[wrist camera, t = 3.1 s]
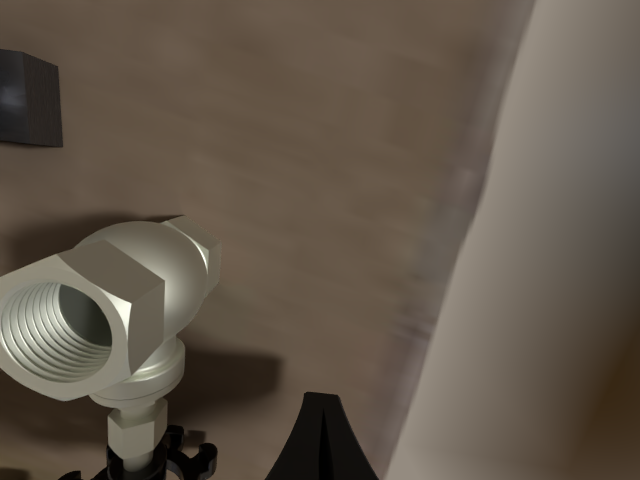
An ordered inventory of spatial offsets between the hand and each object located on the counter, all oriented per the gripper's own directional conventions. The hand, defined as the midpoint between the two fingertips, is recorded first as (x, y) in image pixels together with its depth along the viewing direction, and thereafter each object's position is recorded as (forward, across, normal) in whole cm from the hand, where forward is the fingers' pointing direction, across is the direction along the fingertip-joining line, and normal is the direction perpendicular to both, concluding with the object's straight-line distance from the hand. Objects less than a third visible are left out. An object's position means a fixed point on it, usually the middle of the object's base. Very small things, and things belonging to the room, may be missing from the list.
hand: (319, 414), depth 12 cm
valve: (+3, +7, -1) cm, 7 cm away
